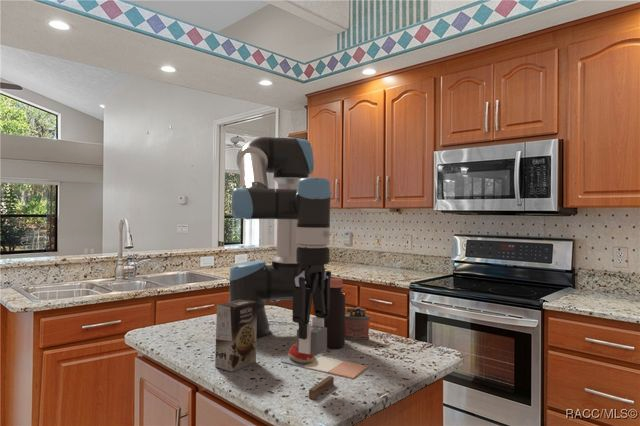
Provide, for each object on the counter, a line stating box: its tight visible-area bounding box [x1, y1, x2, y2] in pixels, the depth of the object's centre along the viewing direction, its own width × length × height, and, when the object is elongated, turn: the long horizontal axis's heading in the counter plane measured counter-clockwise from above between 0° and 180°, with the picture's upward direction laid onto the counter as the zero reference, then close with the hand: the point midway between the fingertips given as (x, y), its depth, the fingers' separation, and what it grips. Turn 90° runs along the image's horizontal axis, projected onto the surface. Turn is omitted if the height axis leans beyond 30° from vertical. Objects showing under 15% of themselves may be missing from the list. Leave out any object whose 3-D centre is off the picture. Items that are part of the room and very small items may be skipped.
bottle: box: [324, 277, 346, 350], centre depth 125 cm, size 7×7×20 cm
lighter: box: [345, 306, 370, 342], centre depth 132 cm, size 8×3×10 cm, turn 84°
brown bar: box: [308, 375, 335, 400], centre depth 92 cm, size 1×9×2 cm, turn 150°
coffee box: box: [214, 299, 257, 372], centre depth 108 cm, size 9×6×16 cm
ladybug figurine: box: [287, 342, 315, 363], centre depth 112 cm, size 7×10×4 cm
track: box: [281, 355, 369, 379], centre depth 109 cm, size 21×9×1 cm, turn 60°
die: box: [296, 324, 328, 356], centre depth 94 cm, size 5×5×5 cm
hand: (311, 349), depth 94 cm, fingers closed on die, 5 cm apart
